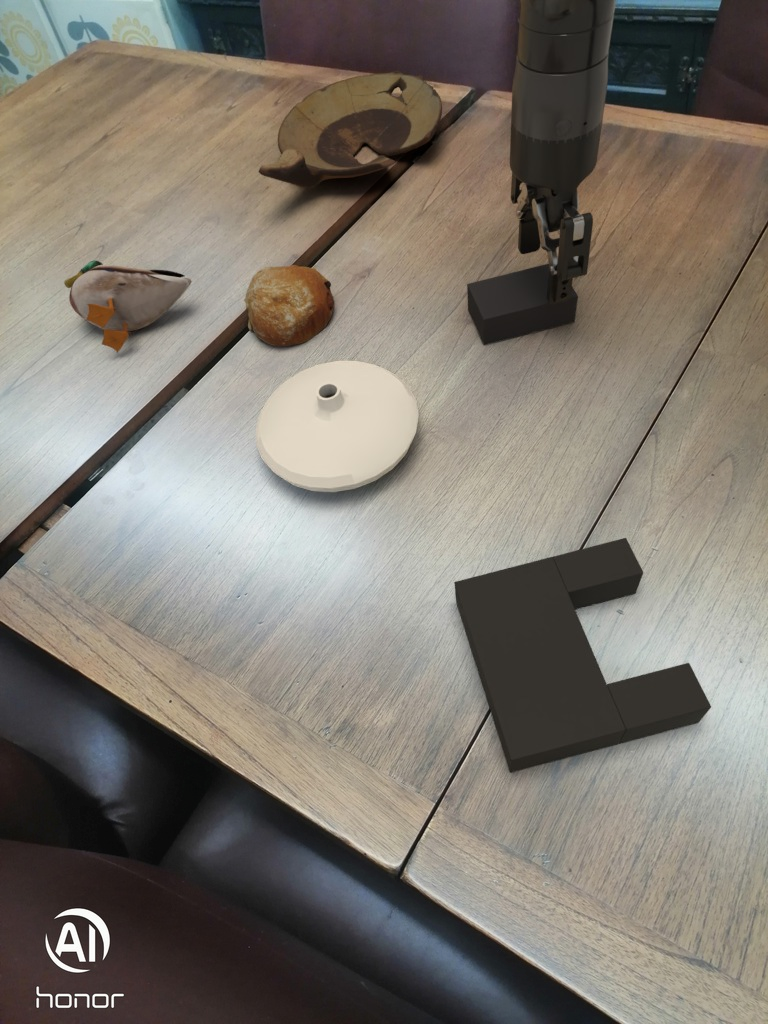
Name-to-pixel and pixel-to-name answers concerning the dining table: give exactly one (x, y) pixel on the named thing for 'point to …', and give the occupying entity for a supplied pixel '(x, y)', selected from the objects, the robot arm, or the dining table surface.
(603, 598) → the socket pad
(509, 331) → the pad
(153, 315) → the decorative duck model
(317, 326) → the bread roll
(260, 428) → the pot lid
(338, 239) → the dining table surface
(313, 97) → the oil lamp
